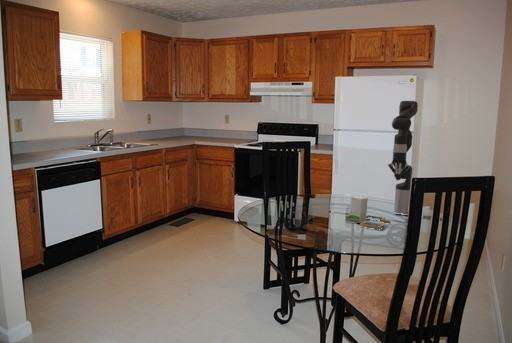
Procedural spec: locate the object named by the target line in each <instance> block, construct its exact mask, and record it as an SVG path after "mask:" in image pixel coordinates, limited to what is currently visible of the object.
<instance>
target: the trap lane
mask: <svg viewBox="0 0 512 343" xmlns="http://www.w3.org/2000/svg"><path fill="white" fill-rule="evenodd" d="M368 217H372V218H379V219H380V222H384V223H390V224H391V220H387V219H386V217H383V216H377V215H371V214H366V218H368ZM346 221H347V222H346ZM345 222H346V223H348V222H354V223H360V225H359V227H360V226H362V227H367V228H374V229H378V230H377V231H380V230H379V229H381V228H383V229H385V224H383V223H380V222H379V223H380V225H378V226H377V225H371V224H367V221H366V222H365V221H359V220H358V219H352V218H350V213H349V214H347V215H345ZM354 223H353V224H354ZM362 227H361V228H362ZM367 228H366V229H367ZM381 230H382V229H381Z"/></svg>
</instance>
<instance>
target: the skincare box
mask: <svg viewBox="0 0 512 343" xmlns="http://www.w3.org/2000/svg"><path fill="white" fill-rule="evenodd" d="M368 201H369V199H368V197H365V196H360V195H354V196H351V197H350V208H349V209H350V210H349V214H350V218H352V219H358V220H359V221H366V222H367V220H366V215H368V214H367V212H368Z"/></svg>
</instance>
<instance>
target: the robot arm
mask: <svg viewBox="0 0 512 343" xmlns="http://www.w3.org/2000/svg"><path fill="white" fill-rule="evenodd" d="M398 108H399V110H398V113H399V114H398V115H397V116H396V117H394V118H393V119H392V122H391V126H392V129H394V130H395V131H397V134H395V135H394V139H393V140H394V141H393V143H394V144H393V149H392V150H393V151H392V160H391V162H390V163H389V164H388V167H389V168H390V171H391V172H392V173H394V174H393V175H394V178H395V180H396V181H400V180H403V179H404V180H405V181H403V182H400V183H397V184H395V195H394V211H393V213H394V212H396V213H403V214H408V207H409V208H410V202H409V196H410V197H411V186H412V178H413V168H412V165H409V164H408V162H407V153H408V151H409V150H410V149H411V148H412V145H413V134H412V131H411V127H412V120H411V119H412V118H413V117H415V115H416V114H417V113H418V109H419V106H418V102H417V101H416V100H402V101H400V102H399V107H398Z"/></svg>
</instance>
